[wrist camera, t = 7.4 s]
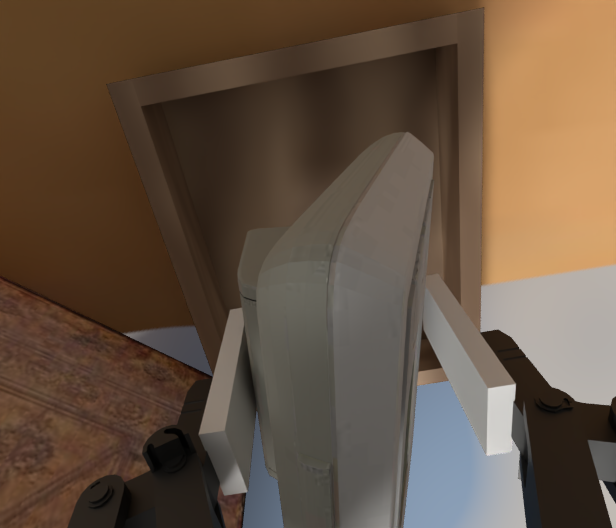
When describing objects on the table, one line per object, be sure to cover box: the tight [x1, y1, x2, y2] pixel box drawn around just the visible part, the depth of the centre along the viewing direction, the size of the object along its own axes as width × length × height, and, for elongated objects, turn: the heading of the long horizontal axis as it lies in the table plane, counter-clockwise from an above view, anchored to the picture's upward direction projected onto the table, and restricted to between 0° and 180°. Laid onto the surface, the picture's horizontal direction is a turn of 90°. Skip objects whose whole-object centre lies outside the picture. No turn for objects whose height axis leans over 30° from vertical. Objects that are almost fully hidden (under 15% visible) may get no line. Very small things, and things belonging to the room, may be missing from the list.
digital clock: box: [237, 132, 434, 528], centre depth 13 cm, size 16×9×11 cm, turn 172°
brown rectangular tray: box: [106, 8, 484, 411], centre depth 25 cm, size 17×21×4 cm
